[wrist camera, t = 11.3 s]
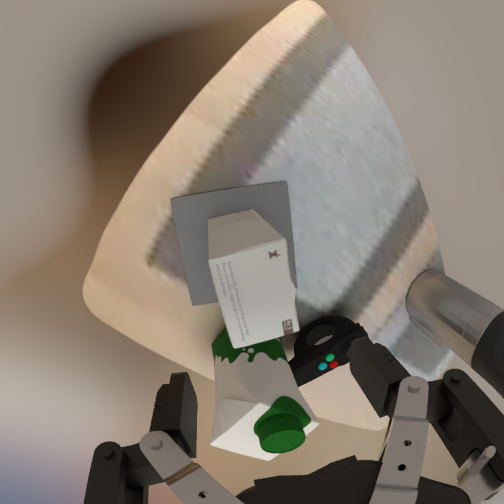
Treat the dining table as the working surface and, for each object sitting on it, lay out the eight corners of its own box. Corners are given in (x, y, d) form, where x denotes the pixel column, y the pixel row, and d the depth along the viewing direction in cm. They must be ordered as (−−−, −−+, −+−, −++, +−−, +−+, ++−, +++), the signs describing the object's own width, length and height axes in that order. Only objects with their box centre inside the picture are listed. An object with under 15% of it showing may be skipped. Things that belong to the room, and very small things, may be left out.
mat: (295, 285, 37) (297, 288, 37) (193, 303, 36) (192, 305, 35) (285, 181, 33) (286, 181, 33) (171, 198, 32) (170, 199, 31)
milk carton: (287, 330, 39) (335, 436, 20) (250, 370, 41) (272, 479, 22) (238, 300, 37) (260, 415, 18) (202, 345, 38) (199, 462, 19)
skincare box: (207, 218, 33) (199, 254, 18) (256, 207, 33) (287, 233, 19) (223, 282, 35) (229, 352, 21) (269, 271, 35) (303, 334, 21)
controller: (350, 319, 40) (381, 356, 31) (281, 359, 41) (297, 404, 31) (341, 299, 39) (374, 334, 30) (269, 341, 39) (283, 386, 30)
